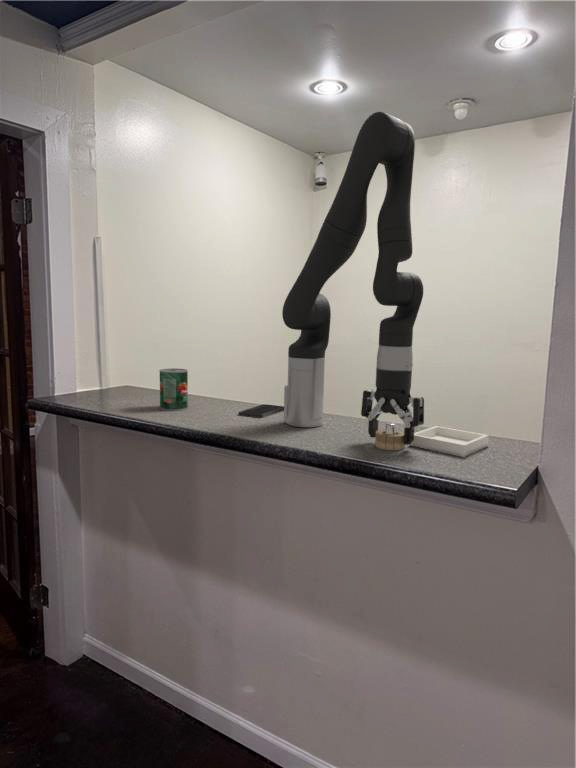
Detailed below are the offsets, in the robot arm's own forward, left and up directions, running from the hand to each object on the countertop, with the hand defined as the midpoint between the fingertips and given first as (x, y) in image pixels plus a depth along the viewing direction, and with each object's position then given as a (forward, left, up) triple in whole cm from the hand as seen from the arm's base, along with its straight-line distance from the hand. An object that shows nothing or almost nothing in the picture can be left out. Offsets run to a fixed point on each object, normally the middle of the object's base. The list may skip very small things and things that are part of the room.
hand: (390, 440), depth 118 cm
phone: (-45, +6, -2) cm, 45 cm away
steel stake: (0, 0, -1) cm, 1 cm away
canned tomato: (-66, -9, -2) cm, 67 cm away
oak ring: (0, 0, -1) cm, 1 cm away
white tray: (+9, +10, -1) cm, 14 cm away
